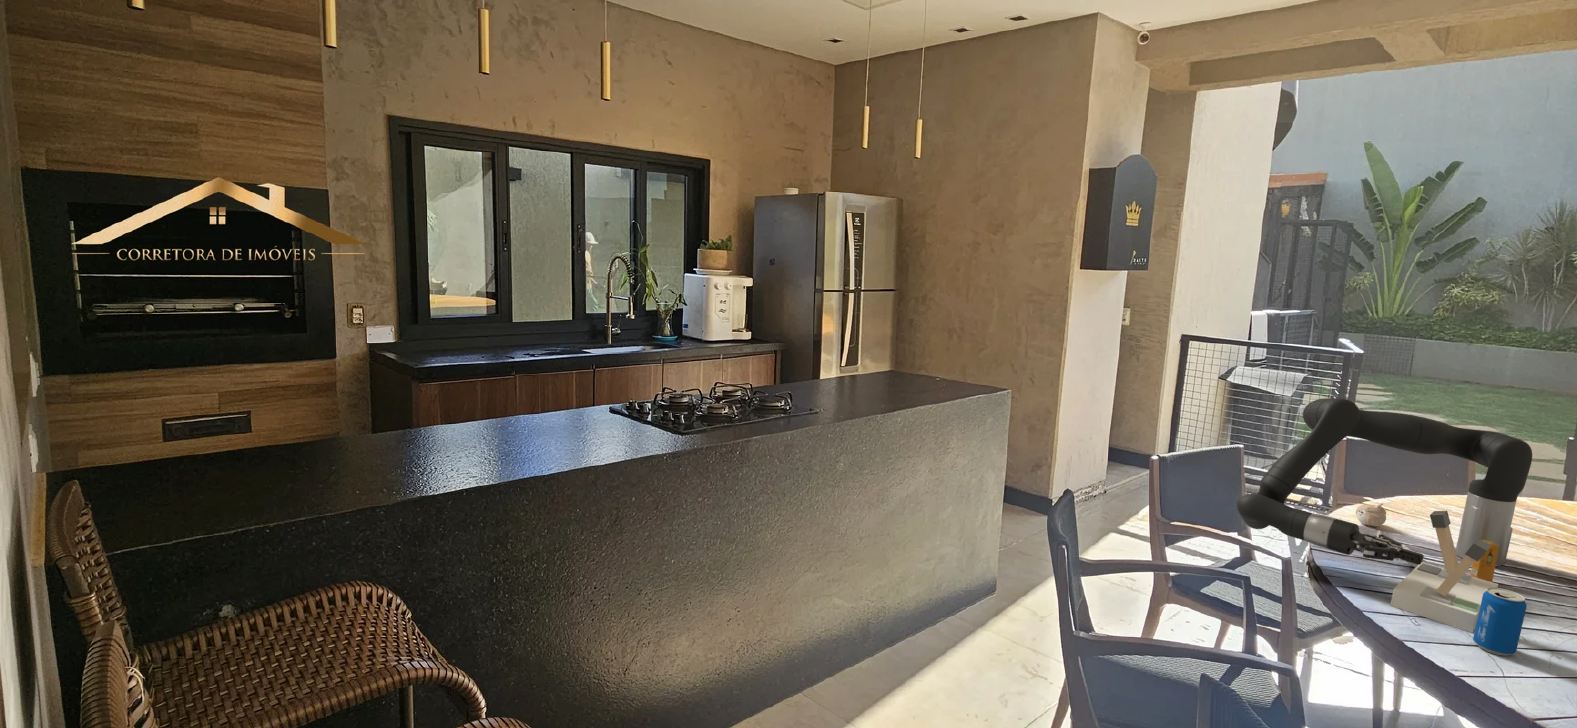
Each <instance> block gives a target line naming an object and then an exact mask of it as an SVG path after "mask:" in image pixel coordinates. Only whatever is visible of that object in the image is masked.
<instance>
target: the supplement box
mask: <svg viewBox="0 0 1577 728" xmlns="http://www.w3.org/2000/svg"><path fill="white" fill-rule="evenodd" d="M1482 541H1484V542H1485V543H1487V544H1489V545H1491V547H1490V548H1489V549H1488V550H1487V551H1486V553H1485V554H1484V555H1483V556H1482V557H1481V558H1480V560H1479V561H1478V562H1477V561H1475V562H1474V564H1473V565H1472V566H1471V567H1470V572H1469V575H1471V576H1472V577H1476V578H1479V579H1482V580H1486V581H1489V582H1493V580H1494V574H1495V571H1496V566H1495V565H1496V560H1497V555H1498V550H1499V545H1497V544H1496V543H1494V542H1492V541H1487V540H1482Z"/></svg>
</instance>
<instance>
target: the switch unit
mask: <svg viewBox="0 0 1577 728" xmlns="http://www.w3.org/2000/svg"><path fill="white" fill-rule="evenodd" d="M1449 575H1450V573H1446V569H1445V567H1444V568H1443V567H1440V566H1437V565H1433V564H1431V563H1429V564H1427V563H1424V562H1422V563H1421V564H1420V565H1418V566H1417V567H1416V568H1415V567H1414V568H1413V569H1412V570H1411V572H1409V573H1408V574H1407V575H1406V576H1405V577H1404V578H1403V579H1402V580H1401V581H1400V582H1399V583H1398V584H1397V585H1396V586H1395V587H1394V588H1393V590H1392V596H1391V600H1390V601H1391V602H1390V607H1394V608H1397V609H1399V610H1403V611H1405V612H1408V611H1409V612H1408V613H1411V612H1413V613H1412V614H1414V613H1415V615H1417V614H1418V615H1417V616H1420V617H1424V618H1427V619H1430V620H1432V621H1436V622H1439V623H1441V624H1445V625H1448V626H1451V627H1454V628H1457V629H1460V630H1463V631H1465V632H1469V633H1473V632H1475V628H1476V624H1477V619H1478V615H1479V610H1480V606H1481V601H1482V597H1483V593H1484V592H1486V591H1487V589H1488V588H1490V587H1496V588H1499V583H1496V582H1493V581H1492V582H1489V581H1486V580H1482V579H1479V578H1476V577H1472V576H1471V575H1470V574H1467V573H1465V574H1464V575H1463V576H1462V578H1461V579H1460V580H1459V581H1458V582H1457V583H1456V585H1455V586H1454V587H1453V588H1452V589H1451V590H1450V591H1449V593H1448V594H1447V595H1446V596H1443V595H1442V594H1440V593H1438V592H1437V591H1436V590H1437V589H1438V588H1439V586H1440V585H1441V584H1442V583H1443V582H1444V581H1445V579H1446V578H1447V577H1448V576H1449Z"/></svg>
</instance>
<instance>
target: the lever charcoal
mask: <svg viewBox="0 0 1577 728" xmlns="http://www.w3.org/2000/svg"><path fill="white" fill-rule="evenodd" d="M1448 511H1449V510H1434V511H1433V512H1431V513H1430V514H1429V517H1430V520H1431V521H1430V522H1431V525H1432V528H1433V529H1435V533H1436V536H1437V540H1438V546H1439V548H1440V553H1441V556H1442V560H1443V565H1444V568H1445V569H1446V573H1451V572H1452V571H1453V570H1454V569H1455V568H1456V566H1457V565H1458V564H1459V563H1460V562H1459V560H1458V556H1457V555H1456V548H1455V544H1454V540H1453V537H1452V533H1451V528H1450V525H1451V520H1450V516H1449V512H1448Z"/></svg>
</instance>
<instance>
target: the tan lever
mask: <svg viewBox="0 0 1577 728" xmlns="http://www.w3.org/2000/svg"><path fill="white" fill-rule="evenodd" d="M1490 547H1491V545H1489V544H1487V543H1485V542H1484V541H1482V540H1480V539H1477V540H1476V541H1475V542H1474V543H1473V545H1472V546H1471V547H1470V548H1469V549H1468V551H1467V552H1466V553H1465V555H1466V556H1465V557H1464V558H1461V561H1460V562H1458V563H1459V564H1458V565H1457V566H1456V568H1455V569H1454V570H1453V571H1452V572H1451V573H1450V575H1449V576H1448V577H1447V578H1446V579H1445V581H1444V582H1443V583H1442V584H1441V585H1440V586H1439V588H1438V589H1437V590H1436V591H1437V592H1438V593H1440V594H1442V595H1443V596H1446V595H1447V594H1448V593H1449V591H1450V590H1451V589H1452V588H1453V587H1454V586H1455V585H1456V583H1457V582H1458V581H1459V580H1460V579H1461V578H1462V576H1463V575H1464V574H1467V572H1468V571H1469V569H1471V567H1472V565H1473V564H1474V562H1475V561H1477V562H1478V561H1479V560H1480V558H1481V557H1482V556H1483V555H1484V554H1485V553H1486V551H1487V550H1488V549H1489V548H1490Z"/></svg>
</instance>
